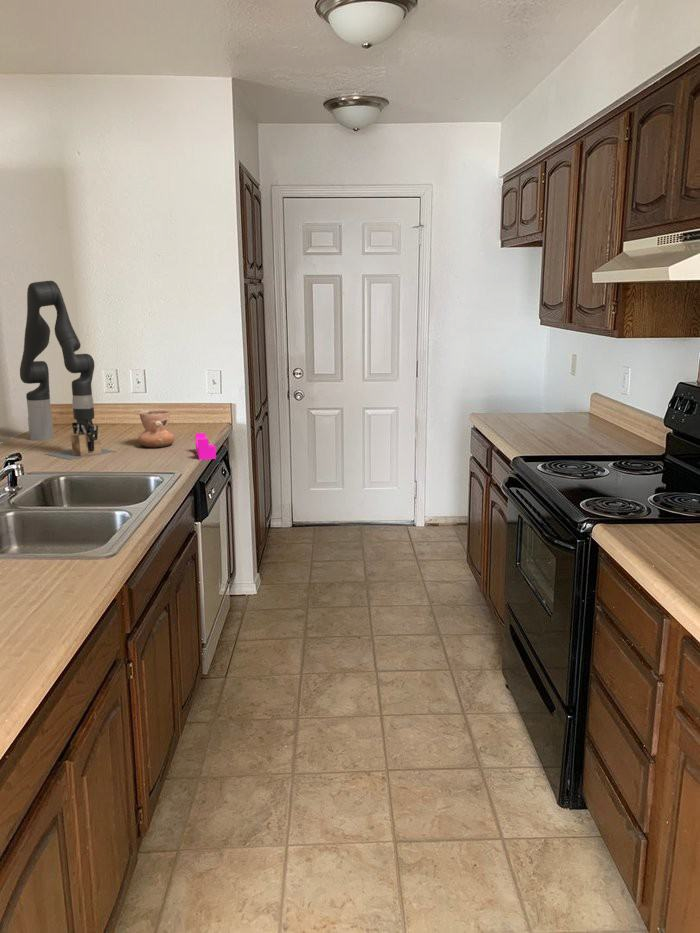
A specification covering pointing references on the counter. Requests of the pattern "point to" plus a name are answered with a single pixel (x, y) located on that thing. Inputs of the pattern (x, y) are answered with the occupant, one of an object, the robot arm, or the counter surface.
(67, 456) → the grey mat
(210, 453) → the toy block
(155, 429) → the ceramic jug
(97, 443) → the walnut block
